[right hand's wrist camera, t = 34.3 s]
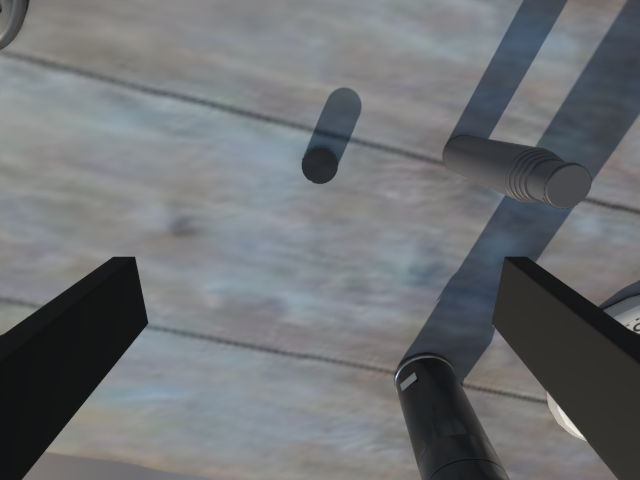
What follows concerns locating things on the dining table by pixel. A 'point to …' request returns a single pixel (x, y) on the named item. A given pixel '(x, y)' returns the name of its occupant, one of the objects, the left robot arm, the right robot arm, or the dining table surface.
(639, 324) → the wall clock
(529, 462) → the dining table surface
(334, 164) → the cap
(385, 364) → the dining table surface
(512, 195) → the bottle
